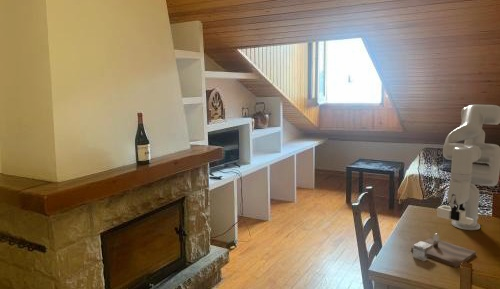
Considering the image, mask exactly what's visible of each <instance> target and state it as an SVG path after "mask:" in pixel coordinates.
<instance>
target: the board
mask: <svg viewBox="0 0 500 289" xmlns="http://www.w3.org/2000/svg"><path fill="white" fill-rule="evenodd" d="M433 240H434V236H433V237H429V238H427V239H425V240H423V242H426V243H429V244H432V245H433ZM410 251H412V252H413V246H412V247H411V250H410ZM476 254H477V251H475V250H472V249H469V248H466V247H463V246H461V245H457V244H453V243H451V242H448V241H444V240H443V239H442V240H441V239H439V243H438V247H433V246H432V249H430V250H428V251H427V258H430V259H432V260H435V261H437V262H438V261H439V262H440V263H443V264H446V265H449V266H452V267H454V268H458V267H460V266H461V265H462V264H461V263H462V262H464V263H465V262H467V261H469V260H470V259H472V258H473V257H475V256H476ZM460 264H461V265H460Z"/></svg>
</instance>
